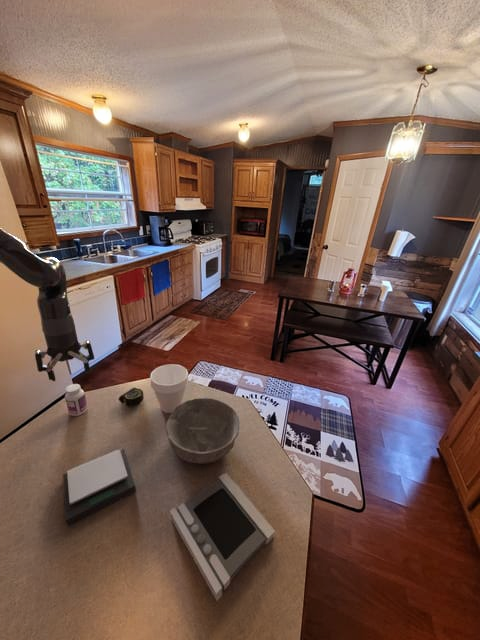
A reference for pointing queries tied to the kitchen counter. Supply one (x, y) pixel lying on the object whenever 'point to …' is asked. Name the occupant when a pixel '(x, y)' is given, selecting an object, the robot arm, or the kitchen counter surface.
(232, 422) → the bowl
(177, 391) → the cup
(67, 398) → the pill bottle
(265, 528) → the alarm clock
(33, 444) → the kitchen counter surface
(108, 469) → the scale
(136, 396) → the tape measure
